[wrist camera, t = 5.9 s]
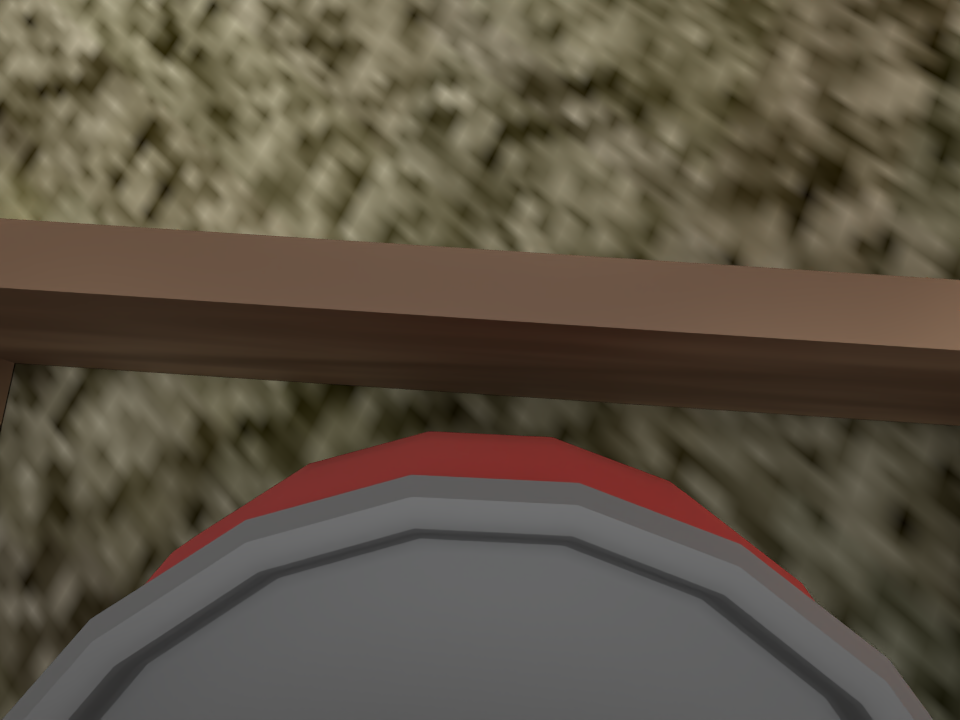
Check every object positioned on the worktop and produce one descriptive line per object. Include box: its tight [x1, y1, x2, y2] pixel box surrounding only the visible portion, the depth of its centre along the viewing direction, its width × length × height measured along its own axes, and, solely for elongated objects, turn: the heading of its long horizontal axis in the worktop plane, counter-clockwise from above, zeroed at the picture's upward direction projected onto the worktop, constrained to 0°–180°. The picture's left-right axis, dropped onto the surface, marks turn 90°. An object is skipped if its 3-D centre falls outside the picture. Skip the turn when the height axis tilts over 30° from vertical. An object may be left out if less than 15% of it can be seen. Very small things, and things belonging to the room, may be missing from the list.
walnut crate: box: [0, 218, 960, 427], centre depth 13 cm, size 13×27×8 cm, turn 86°
